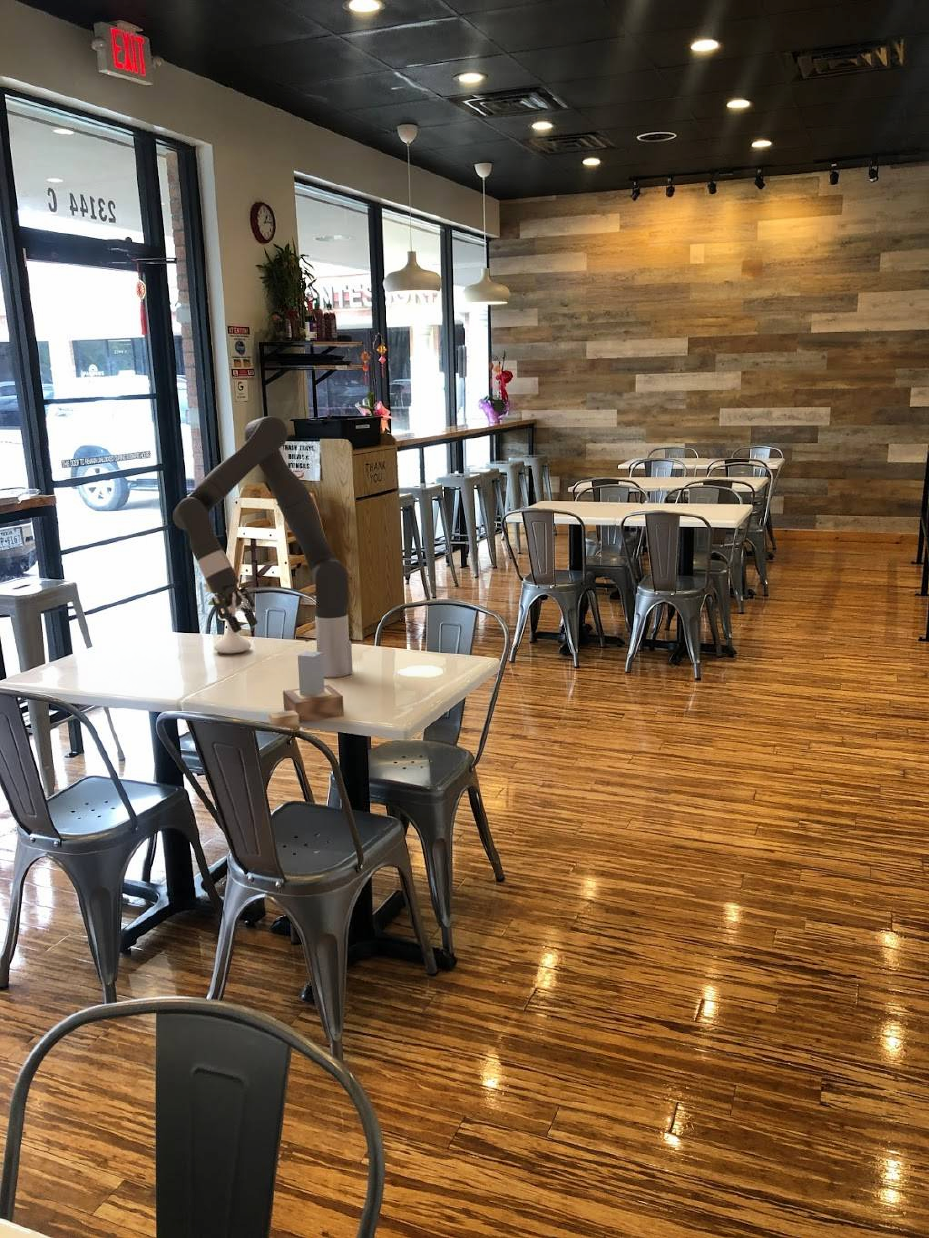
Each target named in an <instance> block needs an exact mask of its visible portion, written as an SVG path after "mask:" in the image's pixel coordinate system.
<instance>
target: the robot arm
mask: <svg viewBox="0 0 929 1238" xmlns="http://www.w3.org/2000/svg"><path fill="white" fill-rule="evenodd" d="M288 433H289V432H288V427H287V425H286V424H285V422H284V421H283V420H282V419H280V417H276V416H272V415H271V416H264V417H260V418H258V419H254V420H251V421H250V422H249V423H248V424H246V426H245V429H244V441H245V443H244V444H243V445H242V446H241V447H240V448H239V449H238V450H236V452H234V453H233V454H231V455H230V456H229V457H227V458H226V459H225V460H223V461H222V462H221V463H220V464H218V465H217V466H216V467H214V468H213V469H212V470H211V471H210V472H209V473H208V474H207V475H206V476H205V477H204V479H202V481H201V482H200V483H199V484H198V485H197V487H196V488H195V489H194V491H192V493H190V494H189V495H188V496H187V497H185V498H183V499H182V500H181V501H180V502H179V503H178V504H177V505H176V507H175V508H174V511H173V514H172V519H173V523H174V524H175V526H176V527H177V528H179V529H180V530H183V531H186V532H187V534H188V536H189V547H190V549H191V551H192V554H193V555H194V557H195V560H196V561H197V564H198V567H199V569H200V572H201V574H202V575H203V576H202V577H203V578H204V580H205V583H206V582H207V584H208V586H209V588H210V590H211V592H212V593H211V594H214V595H215V596H213V597H211V600H212V601H213V604H214V605H213V606H214V607H215V610H216V612H217V614H218V616H219V618H220V620H225V621H227V620H228V622H229V624H230V626H231V628H232V630H233V632H234V633H236V632H237V633H238V632H240V631H242V626H241V624H240V622H239V620H238V618H237V616H236V614H235V611H234V610H235V609H238V610H240V611H241V612H242V614H243V615H244V617H245V619H246V621H247V623H248V625H249V626H250V627H254V626H255V625H257V624H258V620H257V618H256V616H255V614H254V612H253V608H254V607H255V606H256V604H255V602H254V601H253V598H252V597H251V595H250V593H249V592H248V589H247V587H245V586H241V587H238V586H237V584H239V582H240V581H239V577H238V575H237V574H236V571H235V570H234V568H233V565H232V563H231V562H230V560H229V558H228V556H227V554H226V553H225V552H224V550H223V548H222V546H221V543H220V542H219V541H218V538H217V536H216V534H215V532H214V528H213V523H212V522H211V519H210V515H209V514H210V512H211V511H212V510H213V509H214V508H215V507H216V506H217V505H219V504H220V503H221V502H222V501H223V500H224V499H225V498H226V496H228V495H229V494H230V493H231V492H232V491H233V489H235V488H236V486H237V485H238V484H239V483H240V482H241V481H242V480H243V479H244V478H246V476H248V474H249V473H251V471H252V470H253V469H254V468H255V467H257V466H258V467H259V468H260V469H261V471H262V473H263V475H264V477H265V479H266V481H267V484H268V486H269V488H270V490H271V492H272V494H273V496H274V498H275V501H276V503H277V505H278V508H279V510H280V511H281V514H282V516H283V518H284V520H285V522H286V524H287V526H288V527H289V530H290V532H291V534H292V535H293V537H294V538H295V541H296V542H297V544H298V545H299V546H300V548H301V551H302V553H303V555H304V556H303V557H304V558H305V561H306V563H307V566H308V569H309V572H310V575H311V579H312V581H313V583H314V584H315V586H314V587H315V604H314V605H315V606H314V620H315V623H314V624H315V639H316V640H315V641H316V652H323V670H324V678H341V677H345V676H349V675H353V671H354V669H353V652H352V651H353V649H352V641H351V640H350V636H349V635H350V634H349V633H350V632H349V630H350V629H349V614H348V613H349V611H348V609H349V605H350V604H349V603H350V601H349V599H350V598H349V595H350V594H349V593H350V592H349V576H348V574H349V573H348V571H347V569H346V566H345V565H344V564H343V563H342V562H340V561H339V560H338V559H337V556H335V554H334V552H333V550H332V549H331V547H330V544H328V541H327V539H326V536H325V534H324V529H323V526H322V521H321V518H320V515H319V512H318V509H317V506H316V503H315V502H314V500H313V497H312V496H311V493H310V491H309V489H308V488H307V486H306V485H305V484H304V482H302V480H301V479H300V478H299V477H298V476H297V475H296V474H295V473H294V471H293V470H291V468H290V467H289V466H288V464H287V463H286V461H285V458H284V456H283V455H282V452H281V448H282V447H283V446H284V445H285V443H286V442H287V439H288V435H289V434H288ZM216 593H217V594H216ZM234 616H235V617H234Z"/></svg>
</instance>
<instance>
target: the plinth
mask: <svg viewBox="0 0 929 1238" xmlns="http://www.w3.org/2000/svg"><path fill="white" fill-rule="evenodd" d="M324 690H325V691H324V692H322V693H320V694H318V695H317V696H312V695H301V694H300V688H295V689H287V690H282V698H283V710H284V712H285V711H291V710H294V711H295V712H296V713H297V714H299V723H302V722H303V723H304V722H308V721H309V722H310V721H315V720H316V721H317V720H323V719H324V720H325V719H329V718H336V717H337V718H338V717H342V716H345V714H344V713H345V712H344V695H342V694H340V693H339V691H338V690H336V689H335V688H334V687H332V686H331V685H330V684H324Z"/></svg>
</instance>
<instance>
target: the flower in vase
mask: <svg viewBox="0 0 929 1238" xmlns="http://www.w3.org/2000/svg"><path fill="white" fill-rule="evenodd" d="M203 586H204V588H205V590H206V592H208V593H209V594H213V593H212V592H211V590H210V588H209V586H208V584H207V582H206V581H205V583H204V585H203ZM215 595H218V594H217V593H216V594H215ZM207 605H208V606H214V604H213V601H212V599H211V600H210V601H209V602H208V604H207ZM238 610H239V609H235V610H234V611H235V616H234V617H236V614H237V611H238ZM226 624H227V625H226V626H227V627H226V628H227V629H226V633H225V634H224V635H223V636H222V637H221V638H220V639H219V640H218V641H217V642H216V643H215V644H214V646H213V649H214V651H215V652H218V653H221V654H237V653H238V654H239V653H243V652H245V651H248V650H249V649H250V648H251V647H252V645H251V642H250V641H249V640H247V639H246V638H245V637H243V636H242V635H241V634H239V633H238V632H236V633H234V632H233V630H232V628H231V626H230V624H229V622H228V620H226Z"/></svg>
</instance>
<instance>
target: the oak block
mask: <svg viewBox="0 0 929 1238" xmlns="http://www.w3.org/2000/svg"><path fill="white" fill-rule="evenodd" d="M268 716H269V725H270V724H273V725H279V726H283V727H287V728H290V729H293V730H296V731H300V722H299V714H297V713H296V712H295V711H294V710H291V711H285V710H284V711H279V712H273V713H272V712H271V713H269V715H268ZM272 733H274V735H276V734H278V733H275V732H272Z"/></svg>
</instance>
